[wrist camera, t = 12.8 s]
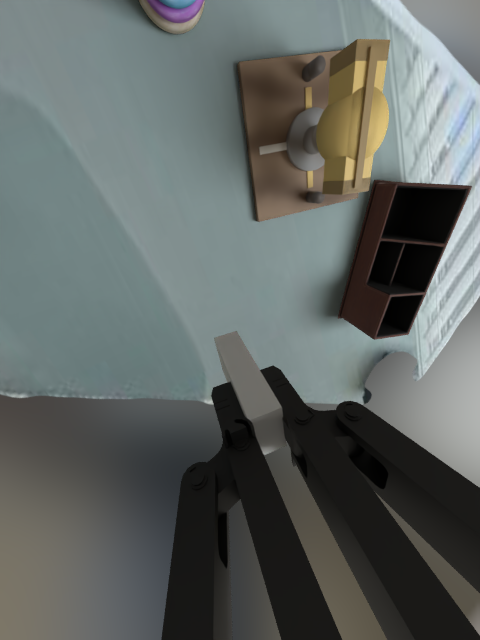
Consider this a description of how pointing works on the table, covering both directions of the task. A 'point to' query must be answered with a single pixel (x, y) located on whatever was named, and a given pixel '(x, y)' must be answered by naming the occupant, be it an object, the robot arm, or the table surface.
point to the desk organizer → (399, 254)
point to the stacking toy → (174, 14)
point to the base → (286, 132)
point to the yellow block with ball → (353, 116)
